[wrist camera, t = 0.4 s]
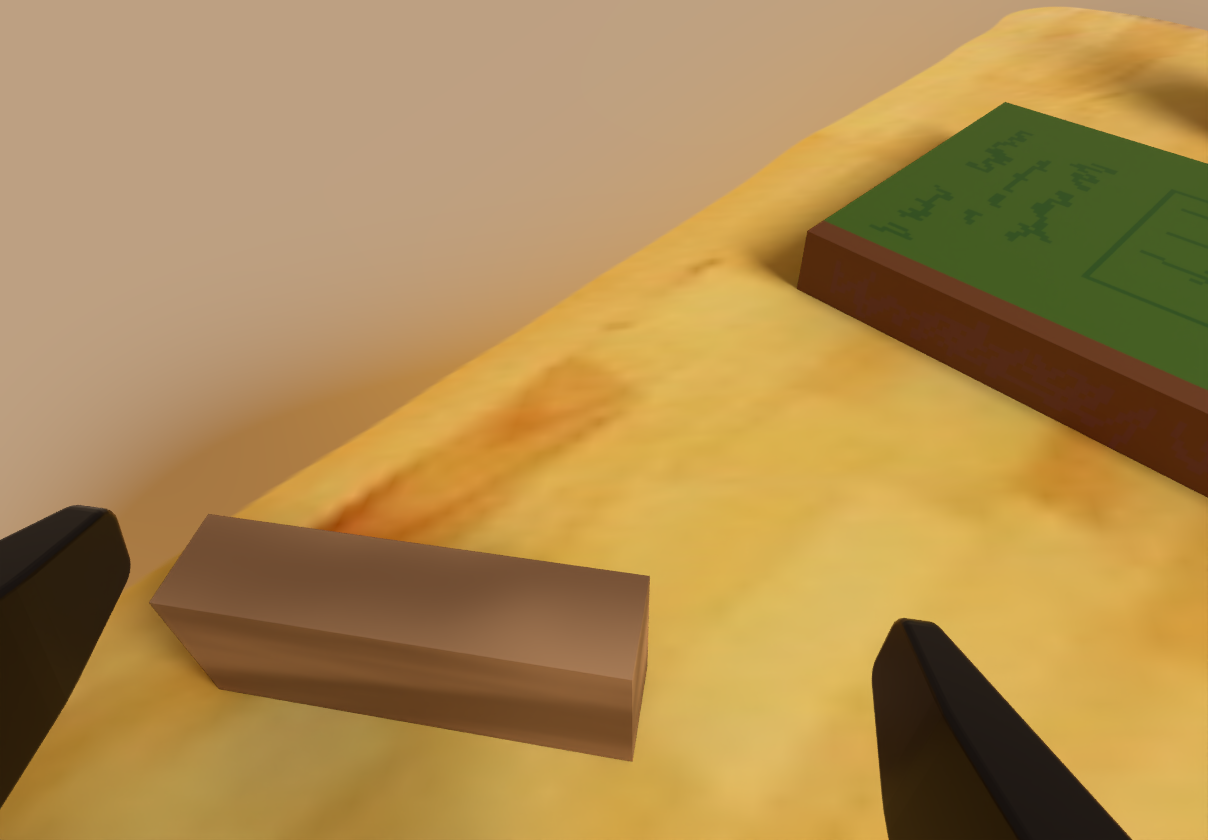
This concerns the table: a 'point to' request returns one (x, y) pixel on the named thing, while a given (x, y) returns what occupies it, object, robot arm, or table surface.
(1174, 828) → the table surface
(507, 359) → the table surface
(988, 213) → the hardcover book
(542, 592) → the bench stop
